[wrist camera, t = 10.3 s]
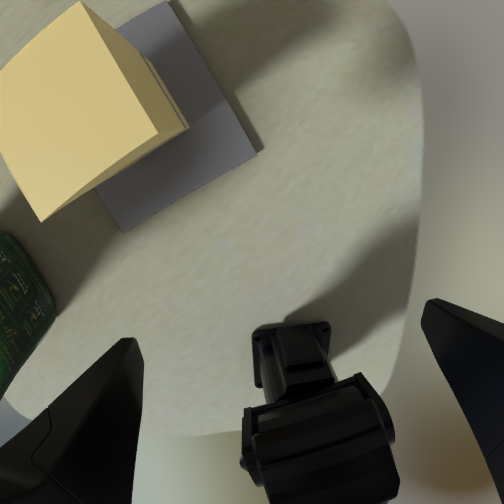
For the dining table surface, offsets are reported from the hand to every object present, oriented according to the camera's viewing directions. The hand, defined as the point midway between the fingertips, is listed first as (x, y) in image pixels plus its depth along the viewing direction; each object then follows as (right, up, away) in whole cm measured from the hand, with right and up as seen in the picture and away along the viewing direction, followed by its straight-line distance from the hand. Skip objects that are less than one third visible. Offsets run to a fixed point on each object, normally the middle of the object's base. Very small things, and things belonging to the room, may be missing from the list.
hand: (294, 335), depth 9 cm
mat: (-8, +11, +8) cm, 16 cm away
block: (-8, +11, +8) cm, 16 cm away
